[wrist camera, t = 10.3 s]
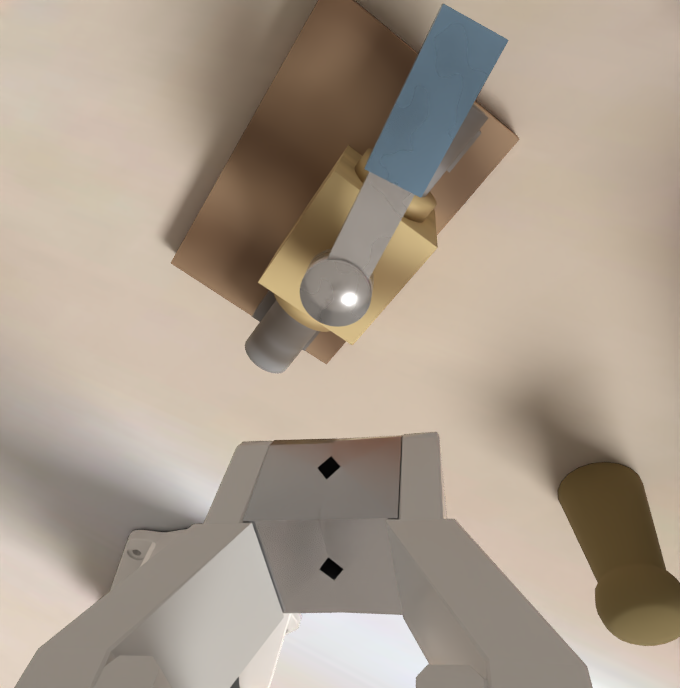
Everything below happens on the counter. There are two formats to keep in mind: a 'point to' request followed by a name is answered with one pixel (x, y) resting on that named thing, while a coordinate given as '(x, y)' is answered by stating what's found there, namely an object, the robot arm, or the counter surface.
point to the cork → (622, 553)
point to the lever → (402, 162)
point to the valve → (323, 184)
